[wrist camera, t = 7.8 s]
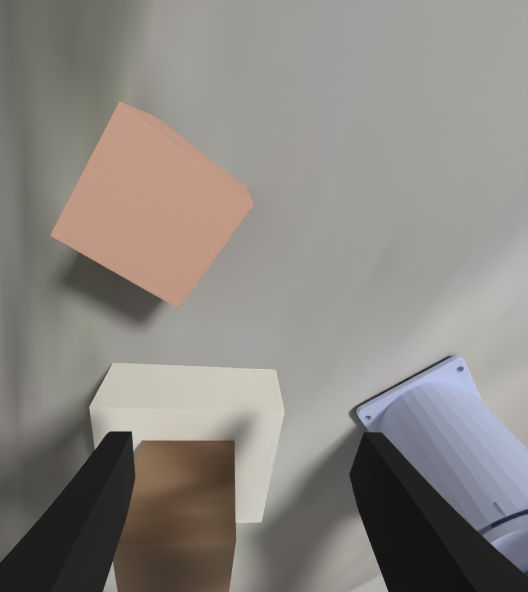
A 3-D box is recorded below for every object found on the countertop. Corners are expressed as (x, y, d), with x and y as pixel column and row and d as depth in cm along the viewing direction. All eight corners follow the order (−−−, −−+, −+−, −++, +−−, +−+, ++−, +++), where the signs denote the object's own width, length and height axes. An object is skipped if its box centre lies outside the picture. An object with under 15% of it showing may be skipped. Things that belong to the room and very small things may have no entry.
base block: (275, 365, 21) (284, 411, 17) (256, 468, 25) (261, 522, 21) (115, 358, 19) (89, 406, 16) (123, 468, 24) (104, 526, 20)
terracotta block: (246, 187, 16) (254, 204, 11) (191, 265, 17) (178, 308, 12) (154, 115, 14) (119, 101, 9) (102, 209, 15) (50, 235, 11)
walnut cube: (234, 440, 18) (235, 540, 13) (228, 496, 20) (227, 599, 15) (141, 440, 17) (110, 545, 13) (145, 498, 19) (120, 606, 15)
